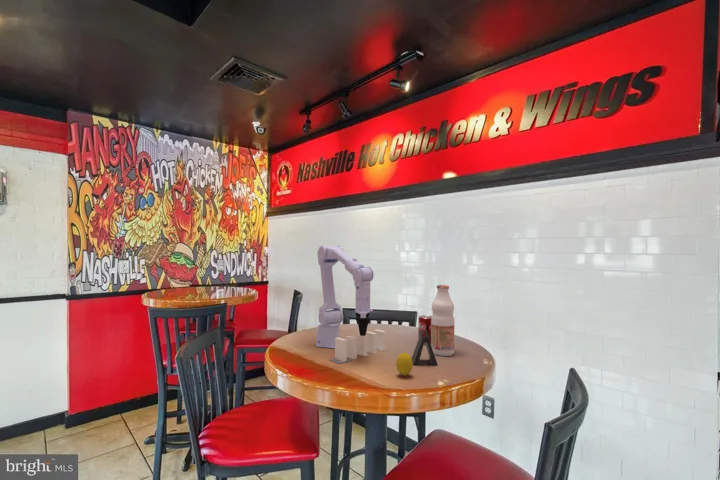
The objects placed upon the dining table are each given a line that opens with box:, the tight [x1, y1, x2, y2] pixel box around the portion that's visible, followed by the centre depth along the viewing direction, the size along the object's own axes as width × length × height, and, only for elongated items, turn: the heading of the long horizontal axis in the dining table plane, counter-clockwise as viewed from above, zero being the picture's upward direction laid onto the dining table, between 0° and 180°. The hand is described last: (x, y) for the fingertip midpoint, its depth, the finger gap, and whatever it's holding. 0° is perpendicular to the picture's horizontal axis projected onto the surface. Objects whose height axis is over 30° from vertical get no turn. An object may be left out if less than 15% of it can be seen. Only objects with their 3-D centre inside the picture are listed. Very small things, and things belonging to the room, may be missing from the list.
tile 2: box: [366, 331, 377, 355], centre depth 148 cm, size 2×5×8 cm, turn 44°
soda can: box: [417, 314, 432, 346], centre depth 163 cm, size 7×7×12 cm
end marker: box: [329, 357, 353, 365], centre depth 137 cm, size 6×6×1 cm
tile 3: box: [355, 333, 368, 357], centre depth 144 cm, size 2×5×8 cm, turn 44°
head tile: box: [373, 329, 386, 352], centre depth 152 cm, size 2×5×8 cm, turn 44°
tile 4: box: [345, 335, 358, 360], centre depth 140 cm, size 2×5×8 cm, turn 44°
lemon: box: [395, 351, 414, 377], centre depth 121 cm, size 6×6×8 cm
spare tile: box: [334, 337, 348, 363], centre depth 137 cm, size 2×5×8 cm, turn 44°
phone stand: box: [411, 329, 439, 367], centre depth 135 cm, size 9×6×12 cm, turn 89°
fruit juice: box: [431, 284, 455, 357], centre depth 148 cm, size 9×9×28 cm
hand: (362, 333), depth 139 cm, fingers open, 7 cm apart
